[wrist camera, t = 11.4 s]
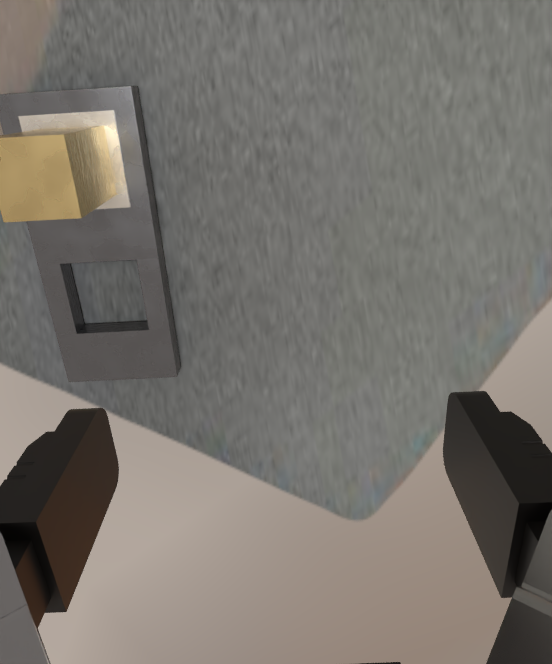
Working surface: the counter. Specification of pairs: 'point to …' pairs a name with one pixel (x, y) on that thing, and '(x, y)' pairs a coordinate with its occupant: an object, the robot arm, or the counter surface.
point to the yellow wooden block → (54, 173)
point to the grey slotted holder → (103, 238)
